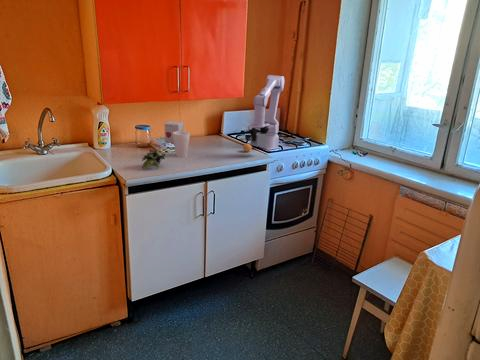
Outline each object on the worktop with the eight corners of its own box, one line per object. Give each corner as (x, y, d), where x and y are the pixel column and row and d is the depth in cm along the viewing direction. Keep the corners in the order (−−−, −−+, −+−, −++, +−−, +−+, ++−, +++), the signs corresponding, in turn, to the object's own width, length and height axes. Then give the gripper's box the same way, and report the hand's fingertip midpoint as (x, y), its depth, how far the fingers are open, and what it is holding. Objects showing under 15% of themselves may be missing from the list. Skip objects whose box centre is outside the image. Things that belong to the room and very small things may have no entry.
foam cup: (169, 155, 213) (169, 133, 209) (179, 152, 221) (179, 130, 217) (183, 158, 209) (183, 135, 205) (193, 154, 217) (193, 132, 213)
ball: (247, 150, 232) (248, 142, 230) (253, 152, 228) (253, 144, 226) (241, 151, 229) (241, 143, 227) (246, 153, 225) (246, 145, 223)
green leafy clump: (154, 174, 199) (164, 154, 201) (162, 177, 190) (172, 156, 192) (135, 165, 193) (146, 144, 195) (142, 167, 184) (154, 145, 186)
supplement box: (164, 147, 228) (163, 123, 223) (170, 144, 237) (169, 120, 231) (178, 149, 227) (178, 124, 221) (184, 145, 235) (183, 121, 230)
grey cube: (258, 143, 223) (259, 132, 221) (265, 145, 219) (265, 134, 216) (250, 144, 220) (250, 133, 217) (257, 146, 215) (257, 135, 213)
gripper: (264, 114, 221) (263, 137, 225) (245, 116, 212) (243, 140, 217) (272, 117, 215) (271, 140, 220) (252, 119, 207) (251, 143, 212)
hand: (258, 140), depth 218 cm, fingers closed on grey cube, 6 cm apart
